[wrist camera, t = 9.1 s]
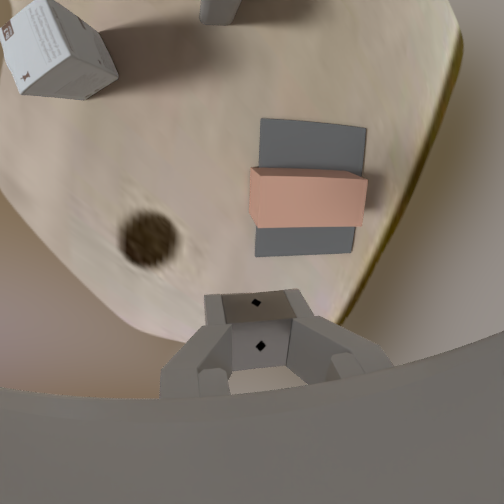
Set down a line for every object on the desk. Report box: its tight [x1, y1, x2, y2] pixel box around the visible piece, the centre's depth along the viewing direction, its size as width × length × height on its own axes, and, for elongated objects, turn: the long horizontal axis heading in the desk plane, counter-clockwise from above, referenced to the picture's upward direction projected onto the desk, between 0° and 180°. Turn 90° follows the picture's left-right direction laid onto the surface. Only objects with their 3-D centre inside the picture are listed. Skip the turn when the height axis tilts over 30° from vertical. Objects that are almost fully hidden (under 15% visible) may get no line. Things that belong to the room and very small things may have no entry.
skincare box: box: [0, 0, 118, 100], centre depth 18 cm, size 6×4×12 cm
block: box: [249, 167, 368, 228], centre depth 29 cm, size 4×4×10 cm
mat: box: [255, 119, 366, 257], centre depth 32 cm, size 14×11×1 cm
